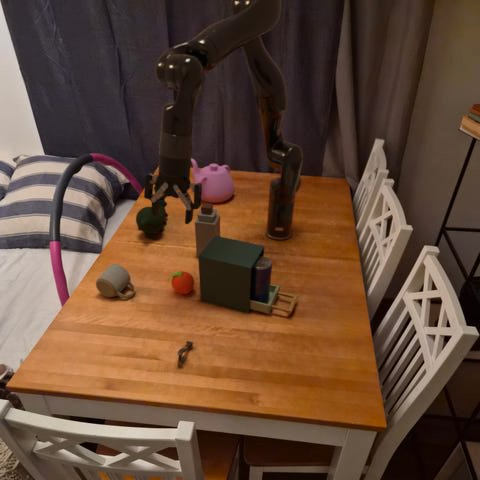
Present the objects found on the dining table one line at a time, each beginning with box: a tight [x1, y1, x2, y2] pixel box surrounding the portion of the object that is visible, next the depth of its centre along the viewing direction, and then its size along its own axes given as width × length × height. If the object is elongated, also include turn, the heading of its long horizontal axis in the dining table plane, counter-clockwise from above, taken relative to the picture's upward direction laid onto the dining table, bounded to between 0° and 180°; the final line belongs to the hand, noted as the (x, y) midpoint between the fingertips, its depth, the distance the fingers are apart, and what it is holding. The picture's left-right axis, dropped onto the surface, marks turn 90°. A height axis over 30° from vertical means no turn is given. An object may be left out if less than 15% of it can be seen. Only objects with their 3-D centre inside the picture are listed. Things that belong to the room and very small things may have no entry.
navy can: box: [250, 256, 273, 304], centre depth 116 cm, size 6×6×13 cm
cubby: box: [197, 235, 265, 314], centre depth 119 cm, size 15×12×16 cm
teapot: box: [191, 157, 235, 204], centre depth 171 cm, size 22×22×14 cm
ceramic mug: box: [95, 263, 136, 299], centre depth 121 cm, size 11×8×8 cm
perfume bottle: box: [194, 202, 221, 259], centre depth 135 cm, size 7×7×18 cm
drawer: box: [250, 283, 299, 315], centre depth 120 cm, size 21×10×3 cm, turn 70°
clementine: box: [167, 270, 195, 295], centre depth 122 cm, size 8×7×7 cm
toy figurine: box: [135, 174, 169, 240], centre depth 147 cm, size 9×19×25 cm
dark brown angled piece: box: [177, 340, 194, 367], centre depth 103 cm, size 2×8×4 cm, turn 165°
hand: (171, 219), depth 104 cm, fingers open, 8 cm apart
